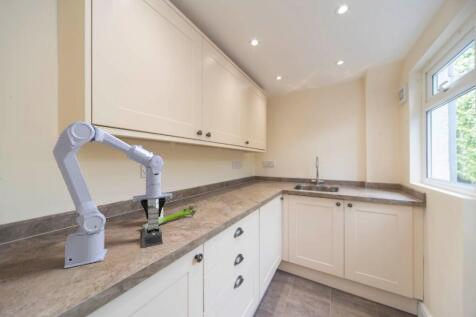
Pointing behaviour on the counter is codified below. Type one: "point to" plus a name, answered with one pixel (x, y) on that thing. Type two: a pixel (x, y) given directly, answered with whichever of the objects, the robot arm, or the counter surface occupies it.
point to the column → (153, 219)
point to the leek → (173, 216)
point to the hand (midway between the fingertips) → (153, 217)
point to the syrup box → (154, 206)
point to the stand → (151, 237)
